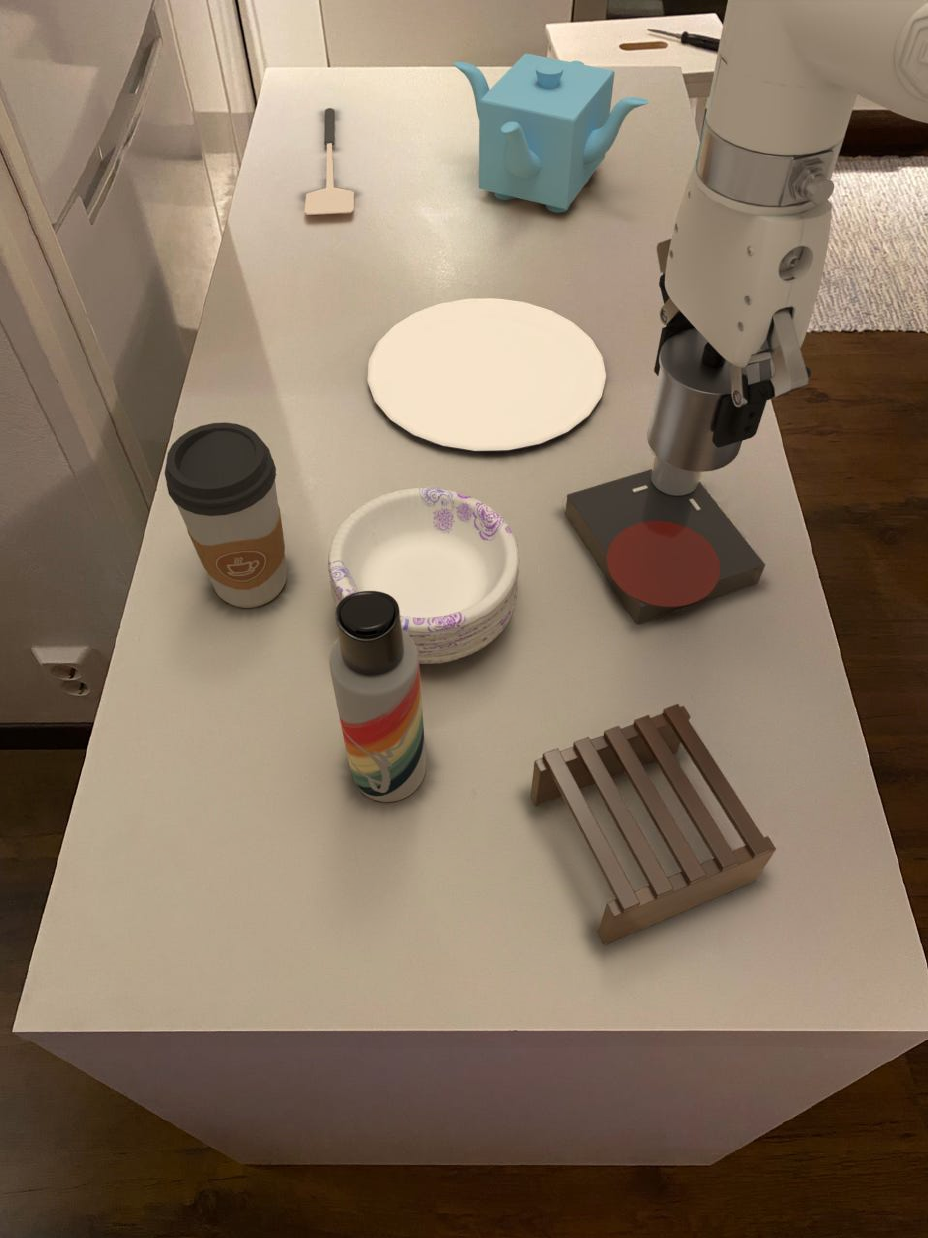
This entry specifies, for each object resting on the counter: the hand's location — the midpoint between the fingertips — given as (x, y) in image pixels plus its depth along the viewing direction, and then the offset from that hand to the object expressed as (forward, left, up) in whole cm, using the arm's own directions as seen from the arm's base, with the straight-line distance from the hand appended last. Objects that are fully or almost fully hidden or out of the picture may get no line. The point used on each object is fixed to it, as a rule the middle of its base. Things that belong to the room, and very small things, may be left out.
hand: (703, 402), depth 67 cm
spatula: (+5, -80, -20) cm, 83 cm away
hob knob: (-6, -9, -17) cm, 20 cm away
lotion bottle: (+28, +9, -20) cm, 35 cm away
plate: (+3, -31, -20) cm, 38 cm away
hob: (-3, -5, -20) cm, 21 cm away
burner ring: (0, 0, -17) cm, 17 cm away
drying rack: (+13, +21, -20) cm, 31 cm away
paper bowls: (+20, -4, -20) cm, 29 cm away
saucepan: (-3, 0, -3) cm, 4 cm away
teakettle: (-18, -63, -20) cm, 69 cm away
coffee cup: (+33, -13, -20) cm, 41 cm away
